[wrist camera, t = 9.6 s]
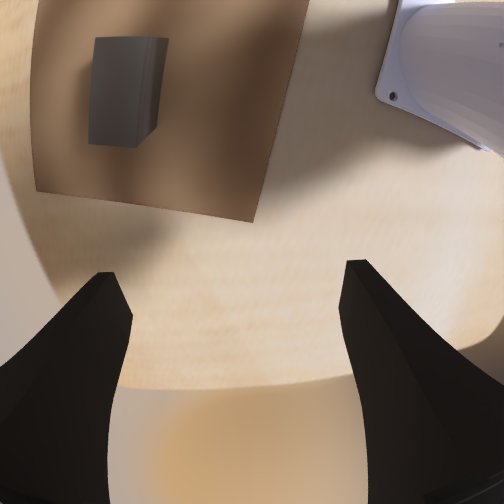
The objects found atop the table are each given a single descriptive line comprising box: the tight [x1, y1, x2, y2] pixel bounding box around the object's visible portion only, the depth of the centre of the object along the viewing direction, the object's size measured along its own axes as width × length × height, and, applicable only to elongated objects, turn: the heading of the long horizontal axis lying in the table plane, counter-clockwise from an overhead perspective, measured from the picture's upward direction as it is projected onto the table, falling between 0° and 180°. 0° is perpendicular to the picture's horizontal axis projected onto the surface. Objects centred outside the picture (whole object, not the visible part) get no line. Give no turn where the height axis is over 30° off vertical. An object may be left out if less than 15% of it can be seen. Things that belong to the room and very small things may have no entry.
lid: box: [30, 0, 309, 223], centre depth 12 cm, size 15×15×4 cm
